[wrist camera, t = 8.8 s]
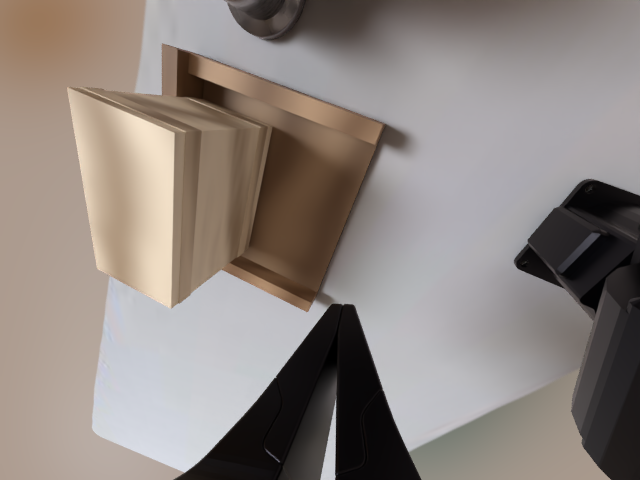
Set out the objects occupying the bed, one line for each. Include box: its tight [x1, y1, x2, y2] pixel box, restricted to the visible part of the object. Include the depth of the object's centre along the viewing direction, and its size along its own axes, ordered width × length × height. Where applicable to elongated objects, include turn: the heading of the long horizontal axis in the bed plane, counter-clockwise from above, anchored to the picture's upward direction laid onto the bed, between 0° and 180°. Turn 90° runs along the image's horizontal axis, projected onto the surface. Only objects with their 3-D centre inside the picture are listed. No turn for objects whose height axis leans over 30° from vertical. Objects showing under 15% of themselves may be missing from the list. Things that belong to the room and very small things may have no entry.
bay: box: [162, 44, 386, 312], centre depth 21 cm, size 15×16×3 cm
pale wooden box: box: [67, 87, 272, 308], centre depth 18 cm, size 6×11×9 cm, turn 162°
